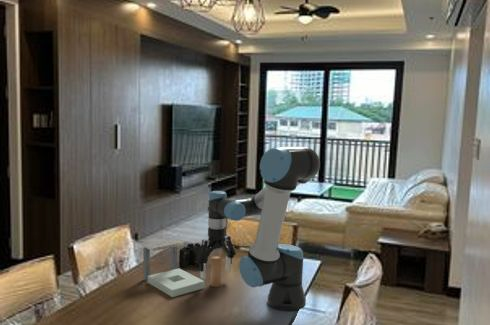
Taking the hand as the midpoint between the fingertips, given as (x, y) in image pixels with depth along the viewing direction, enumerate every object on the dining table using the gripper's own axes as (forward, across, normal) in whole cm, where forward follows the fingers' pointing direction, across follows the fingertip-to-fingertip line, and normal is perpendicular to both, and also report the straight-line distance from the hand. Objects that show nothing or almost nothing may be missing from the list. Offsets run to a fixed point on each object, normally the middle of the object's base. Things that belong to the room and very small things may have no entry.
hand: (215, 274), depth 194 cm
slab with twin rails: (+5, +14, -20) cm, 25 cm away
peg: (+4, 0, 0) cm, 4 cm away
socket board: (+4, +14, -10) cm, 18 cm away
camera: (+5, -7, -26) cm, 27 cm away
